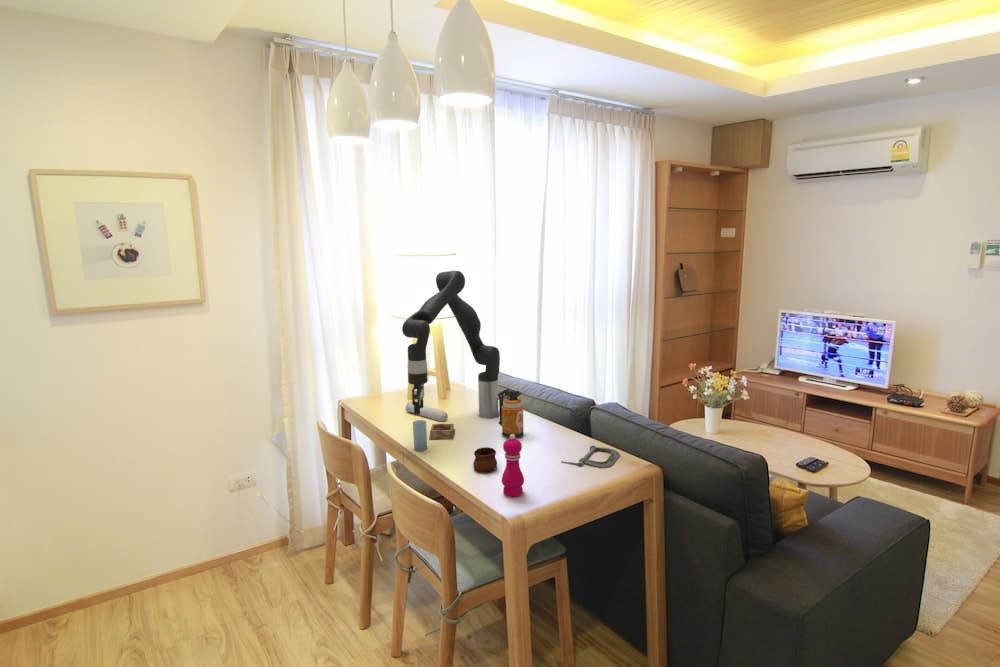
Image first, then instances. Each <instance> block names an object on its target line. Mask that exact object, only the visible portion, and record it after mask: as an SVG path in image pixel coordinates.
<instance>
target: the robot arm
mask: <svg viewBox="0 0 1000 667" xmlns="http://www.w3.org/2000/svg"><path fill="white" fill-rule="evenodd" d="M435 284H436V287H437V289H438V292H437V293H435V294H434V295H432V296H431V297H430V298H428V299H427V300H426V301H425V302H424V303H423V304H422V306H421V307H420V308H419V310H418V311H416V312H414V313H413V314H412V315H411V316H409V317H408V318H406V319H405V321H404V323H403V324H402V328H401V332H402V334H403V335H404V336H405V338H410V339H416V343H411V344H409V345H408V346H407V382H408V383H409V384H410V385H413V387H412V390H411V395H412V396H411V398H412V399H411V402H412V404H413V405H414V413H413V414H414V415H415V416H417V415H418V416H420V415H419V414H420V408H423V406H424V398H425V384H427V383H428V380H429V379H428V377H429V376H428V362H427V346H428V342H429V338H430V337H429V336H430V333H431V327H430V324H432V323H433V322H434V321H435V320H436V318H437V316H438V315H439V314H440V312H441V311H442V310H443V309H444V308H445V307H446V306H447V305H448V307H449V308H450V310H451V312H452V314H453V316H454V318H455V319H456V322H457V323H458V326H459V328H460V330H461V331H462V333H463V335H464V338H465V340H466V341H467V344H468V346H469V349H470V351H471V354H472V356H473V358H474V361H475V362H476V363H477V364H478V365H481V366H485V371H482V372H479V373H478V375H477V379H478V380H477V382H478V383H477V384H478V416H479V417H480V418H485V419H489V418H490V419H491V418H498V417H499V415H500V411H499V397H498V394H499V374H500V366H501V365H500V364H501V363H500V360H501V358H500V356H501V354H500V350H499V349H498V347H496V346H492V345H485V344H484V343H483V340H482V339H481V337H480V332H481V329H482V328H481V325H482V324H481V321H480V318H479V316H478V314H477V312H476V310H475V309H474V308H473V307H472V306H471V305H470V304H469V303H467V302H466V301H465V300H463V299H462V298H461V297H460V296H459V294H460V293H461V292H462V291H463V290H464V288H465V285H466V278H465V275H464V273H463V272H462V271H460V270H448V271H442V272H439V273H438V274H436V277H435Z"/></svg>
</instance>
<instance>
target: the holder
mask: <svg viewBox="0 0 1000 667" xmlns="http://www.w3.org/2000/svg"><path fill="white" fill-rule="evenodd" d="M429 430H430V431H429V433H430V434H429V436H428V440H429V441H430V440H431V441H432V440H433V441H435V440H436V441H438V440H439V441H440V440H441V441H443V440H454V437H455V434H456V428H455V426H454V423H432V425H431V427H430V429H429Z"/></svg>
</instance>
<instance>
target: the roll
mask: <svg viewBox="0 0 1000 667" xmlns="http://www.w3.org/2000/svg"><path fill="white" fill-rule="evenodd" d="M412 431H413V432H412V433H413V434H412V436H413V450H414V451H416V452H424V451H427V449H428V435H427V434H428V432H427V421H426V420H423V419H417V420H414V421H412Z"/></svg>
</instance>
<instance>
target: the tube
mask: <svg viewBox="0 0 1000 667" xmlns="http://www.w3.org/2000/svg"><path fill="white" fill-rule="evenodd" d="M405 412H406V413H410V412H411V413H410V414H414V405H413V404H412V401H408V402H407V403H406V405H405ZM418 416H421V417H425V418H428V419H431V420H436V421H439V422H445V420H446V421H447V420H448V418H449V416H448V413H447V412H446V411H444V410H441V409H437V408H433V407H430V406H426V405H423V408H420V414H419V415H418Z"/></svg>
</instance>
